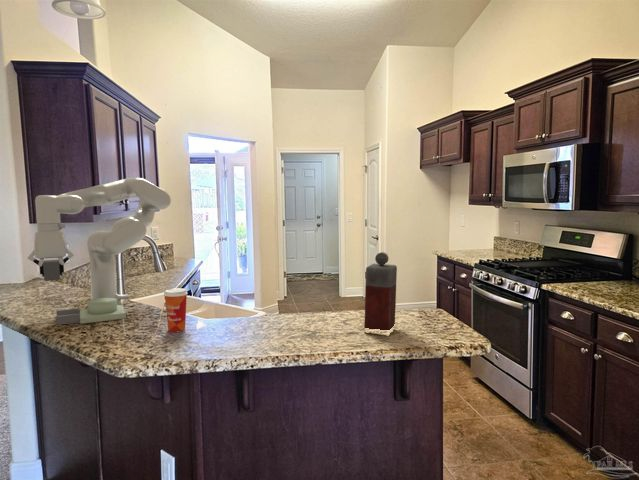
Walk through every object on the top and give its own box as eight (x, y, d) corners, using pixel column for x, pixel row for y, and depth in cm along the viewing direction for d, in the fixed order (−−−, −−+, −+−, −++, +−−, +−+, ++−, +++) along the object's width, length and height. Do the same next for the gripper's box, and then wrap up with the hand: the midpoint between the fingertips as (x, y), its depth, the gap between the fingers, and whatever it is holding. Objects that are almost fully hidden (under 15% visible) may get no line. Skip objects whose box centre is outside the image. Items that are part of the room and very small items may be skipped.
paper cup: (159, 330, 142) (159, 291, 141) (177, 325, 149) (176, 287, 148) (176, 334, 139) (175, 293, 138) (193, 328, 146) (192, 289, 144)
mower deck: (122, 309, 169) (122, 295, 168) (125, 318, 157) (125, 302, 156) (57, 316, 158) (56, 301, 157) (55, 326, 145) (54, 309, 145)
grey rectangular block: (60, 276, 162) (59, 259, 161) (60, 279, 157) (58, 261, 156) (45, 278, 160) (44, 260, 159) (44, 281, 154) (43, 262, 154)
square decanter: (396, 327, 151) (398, 251, 148) (389, 336, 140) (392, 254, 138) (372, 324, 154) (374, 249, 151) (363, 333, 144) (366, 253, 141)
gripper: (75, 226, 164) (78, 271, 166) (22, 228, 155) (26, 275, 157) (75, 228, 157) (78, 275, 159) (20, 229, 149) (24, 279, 151)
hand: (52, 275), depth 158 cm, fingers closed on grey rectangular block, 5 cm apart
